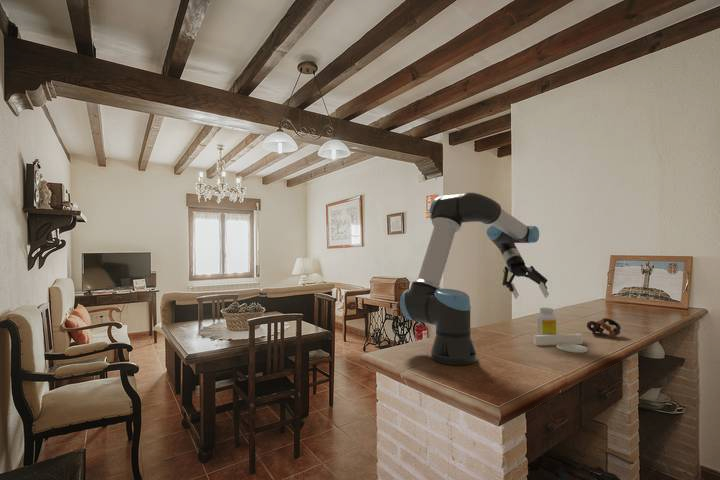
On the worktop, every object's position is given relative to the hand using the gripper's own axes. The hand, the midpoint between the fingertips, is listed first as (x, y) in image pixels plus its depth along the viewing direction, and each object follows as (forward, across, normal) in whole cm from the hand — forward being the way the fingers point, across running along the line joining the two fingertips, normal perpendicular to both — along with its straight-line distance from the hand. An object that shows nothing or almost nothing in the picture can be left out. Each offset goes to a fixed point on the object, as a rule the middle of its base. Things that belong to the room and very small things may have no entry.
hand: (532, 296), depth 156 cm
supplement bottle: (+19, 0, -4) cm, 20 cm away
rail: (+23, -1, 0) cm, 23 cm away
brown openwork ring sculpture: (+16, -27, -7) cm, 32 cm away
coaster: (+27, -2, +5) cm, 28 cm away
